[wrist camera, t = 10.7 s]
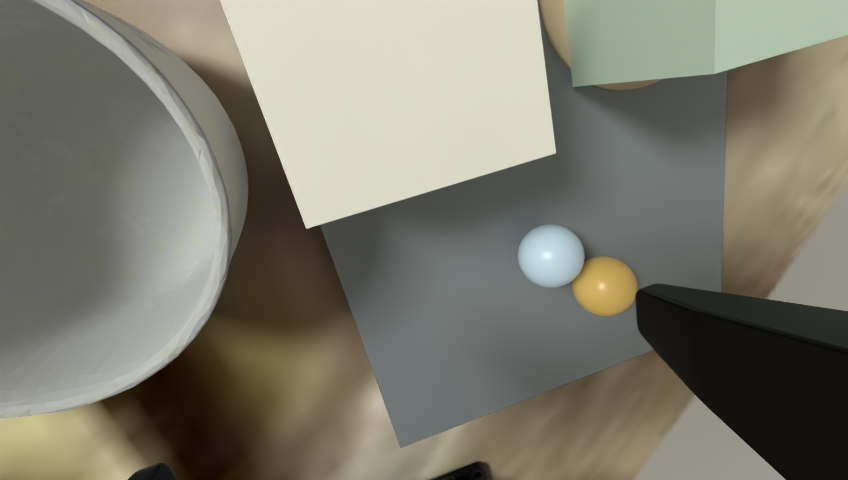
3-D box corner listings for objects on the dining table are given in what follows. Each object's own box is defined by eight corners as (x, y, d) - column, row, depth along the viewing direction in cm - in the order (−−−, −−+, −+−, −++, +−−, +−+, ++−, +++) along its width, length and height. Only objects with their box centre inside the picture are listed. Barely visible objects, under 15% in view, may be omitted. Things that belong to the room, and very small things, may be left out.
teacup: (229, 3, 15) (128, -104, 7) (296, 268, 18) (274, 374, 11) (-238, 42, 12) (-1073, -58, 5) (-56, 337, 16) (-385, 532, 9)
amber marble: (612, 289, 22) (653, 315, 19) (563, 307, 22) (598, 335, 19) (608, 240, 21) (650, 260, 18) (557, 258, 21) (592, 281, 18)
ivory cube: (473, 137, 18) (556, 153, 11) (315, 182, 17) (306, 228, 10) (436, -51, 15) (516, -169, 9) (247, -9, 14) (179, -107, 8)
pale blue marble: (565, 262, 21) (601, 286, 18) (512, 280, 21) (541, 307, 18) (558, 209, 20) (595, 225, 17) (502, 227, 19) (532, 247, 17)
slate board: (711, 319, 25) (720, 324, 25) (399, 439, 23) (400, 447, 22) (721, -210, 16) (735, -222, 16) (199, -114, 14) (193, -123, 13)
